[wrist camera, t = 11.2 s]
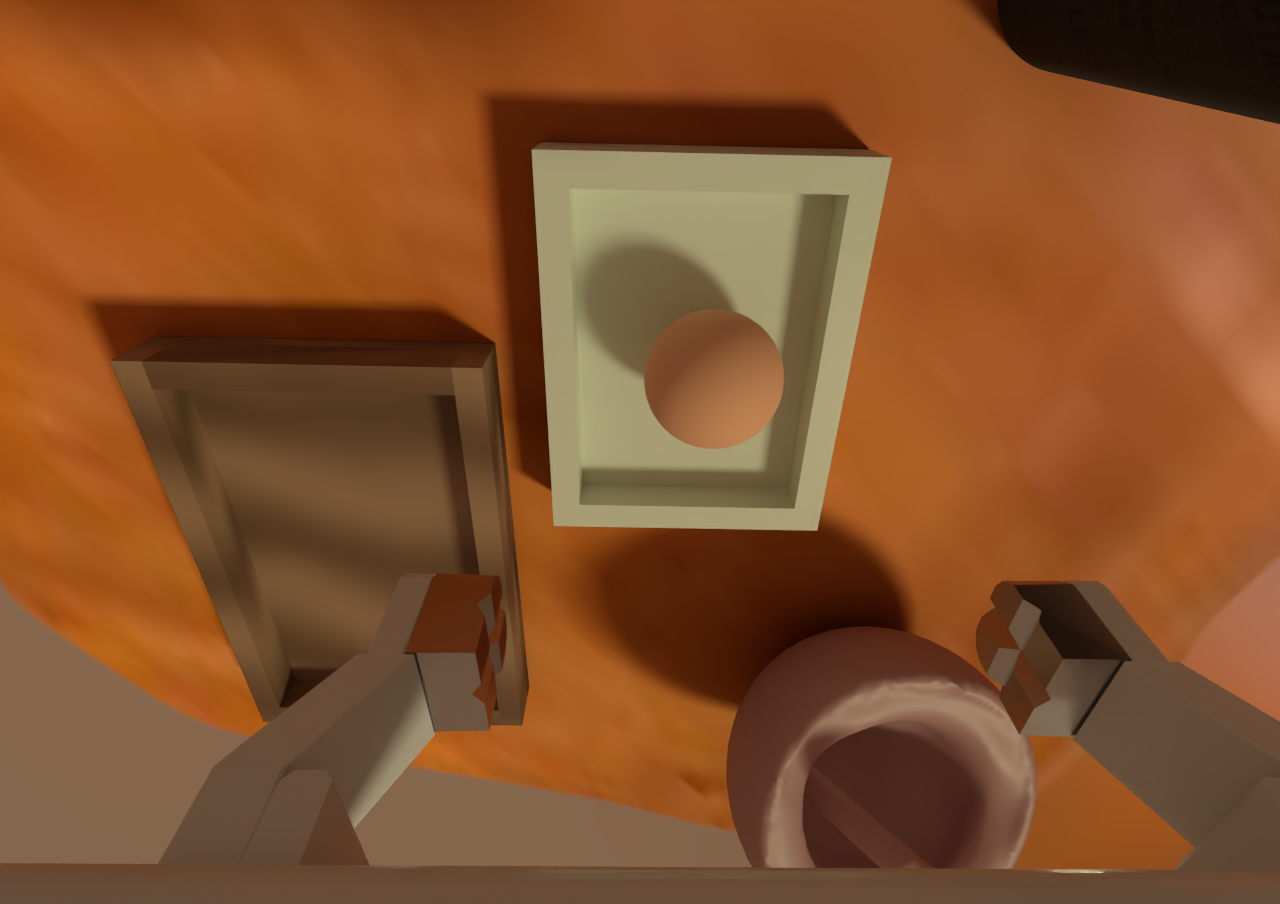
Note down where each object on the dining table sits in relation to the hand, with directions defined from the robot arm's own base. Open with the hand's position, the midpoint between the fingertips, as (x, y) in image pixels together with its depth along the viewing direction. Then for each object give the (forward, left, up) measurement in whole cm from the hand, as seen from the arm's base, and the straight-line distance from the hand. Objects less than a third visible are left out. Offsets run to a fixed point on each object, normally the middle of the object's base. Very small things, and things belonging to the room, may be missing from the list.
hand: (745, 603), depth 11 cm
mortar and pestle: (+17, +8, -14) cm, 23 cm away
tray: (+1, 0, -14) cm, 14 cm away
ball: (+1, +1, -11) cm, 11 cm away
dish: (+10, -13, -14) cm, 21 cm away
